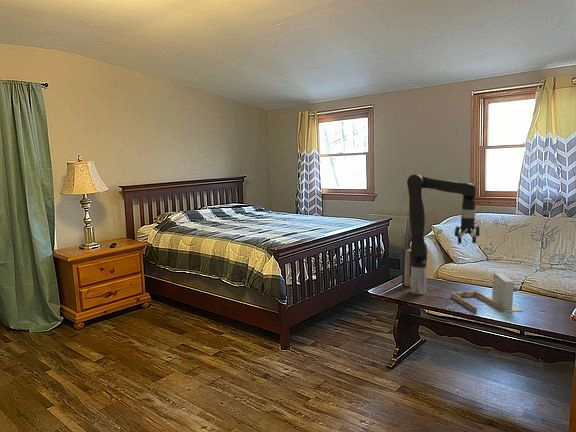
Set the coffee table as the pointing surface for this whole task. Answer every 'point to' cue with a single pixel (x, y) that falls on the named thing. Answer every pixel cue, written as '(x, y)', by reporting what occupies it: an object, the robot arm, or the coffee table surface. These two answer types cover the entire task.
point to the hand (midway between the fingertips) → (466, 243)
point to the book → (406, 267)
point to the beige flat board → (511, 309)
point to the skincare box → (503, 290)
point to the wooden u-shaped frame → (458, 296)
